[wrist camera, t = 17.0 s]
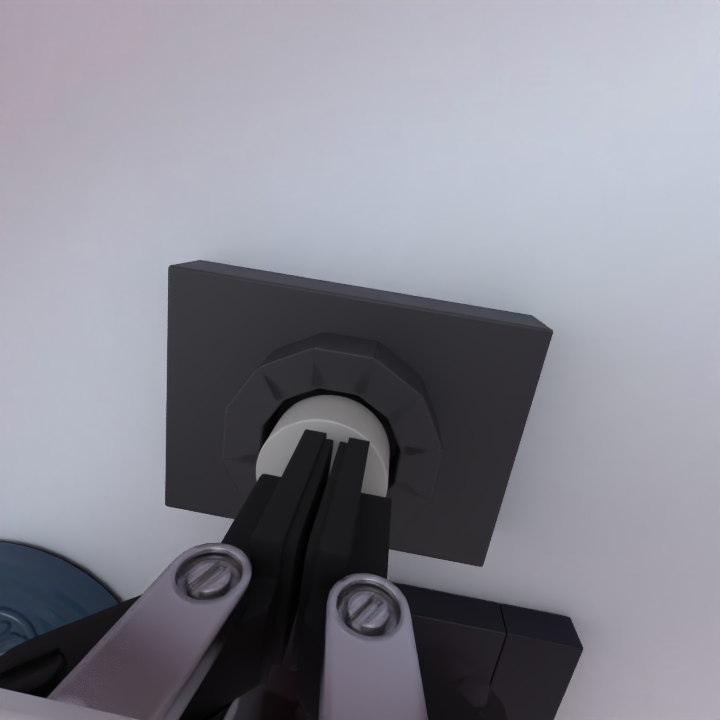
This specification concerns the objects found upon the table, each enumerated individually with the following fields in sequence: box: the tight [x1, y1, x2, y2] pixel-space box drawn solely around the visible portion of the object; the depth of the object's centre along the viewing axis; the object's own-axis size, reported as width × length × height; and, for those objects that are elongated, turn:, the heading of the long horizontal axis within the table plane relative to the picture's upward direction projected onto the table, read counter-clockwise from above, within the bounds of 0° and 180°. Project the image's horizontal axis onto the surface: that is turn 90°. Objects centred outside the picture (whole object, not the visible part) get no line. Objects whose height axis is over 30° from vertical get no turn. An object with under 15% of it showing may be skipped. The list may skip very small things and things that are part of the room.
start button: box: [256, 395, 390, 497], centre depth 12 cm, size 4×4×2 cm
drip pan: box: [233, 582, 583, 720], centre depth 20 cm, size 14×14×2 cm
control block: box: [165, 260, 553, 567], centre depth 15 cm, size 12×9×4 cm
